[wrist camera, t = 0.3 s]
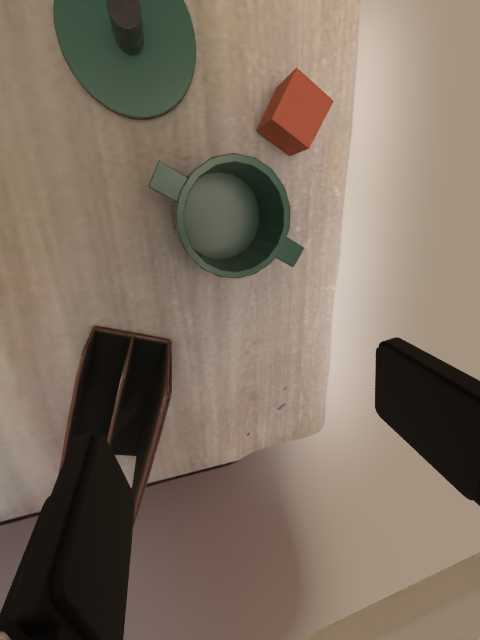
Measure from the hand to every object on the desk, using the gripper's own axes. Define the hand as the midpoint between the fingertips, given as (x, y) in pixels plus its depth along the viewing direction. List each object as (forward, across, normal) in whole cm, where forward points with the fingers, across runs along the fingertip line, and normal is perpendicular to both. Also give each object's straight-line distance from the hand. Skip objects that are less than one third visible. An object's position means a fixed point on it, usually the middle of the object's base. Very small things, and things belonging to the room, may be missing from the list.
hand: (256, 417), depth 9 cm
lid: (+29, 0, -22) cm, 36 cm away
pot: (+30, -6, -5) cm, 31 cm away
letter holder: (+30, +14, +16) cm, 37 cm away
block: (+30, -15, -14) cm, 36 cm away
